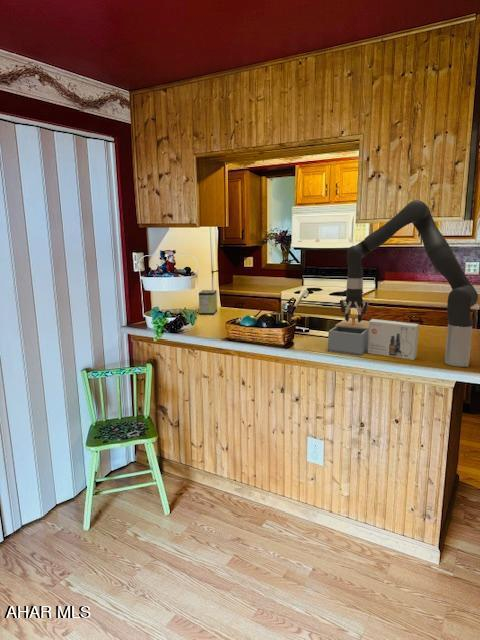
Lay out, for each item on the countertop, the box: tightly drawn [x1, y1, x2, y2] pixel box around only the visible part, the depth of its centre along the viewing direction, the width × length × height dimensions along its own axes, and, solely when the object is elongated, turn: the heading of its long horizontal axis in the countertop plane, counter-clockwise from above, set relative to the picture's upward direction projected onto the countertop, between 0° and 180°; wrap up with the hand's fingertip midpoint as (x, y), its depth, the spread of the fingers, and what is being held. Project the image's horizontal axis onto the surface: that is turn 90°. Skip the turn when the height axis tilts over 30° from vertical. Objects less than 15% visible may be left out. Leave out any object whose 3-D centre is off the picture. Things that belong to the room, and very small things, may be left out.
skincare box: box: [367, 318, 420, 361], centre depth 196 cm, size 21×6×16 cm, turn 56°
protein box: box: [198, 289, 218, 316], centre depth 303 cm, size 10×16×16 cm
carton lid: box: [334, 313, 370, 330], centre depth 214 cm, size 16×16×6 cm
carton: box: [327, 326, 369, 356], centre depth 207 cm, size 16×16×10 cm
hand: (353, 321), depth 210 cm, fingers closed on carton lid, 5 cm apart
